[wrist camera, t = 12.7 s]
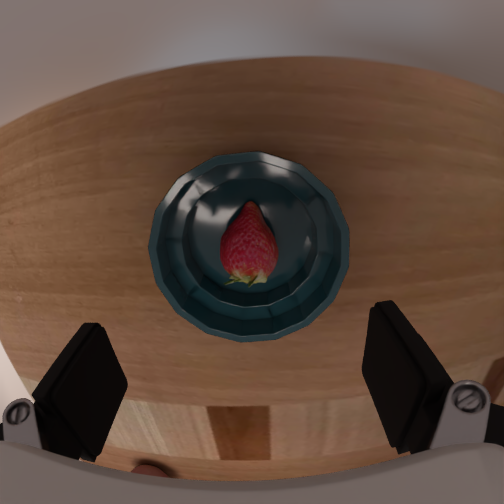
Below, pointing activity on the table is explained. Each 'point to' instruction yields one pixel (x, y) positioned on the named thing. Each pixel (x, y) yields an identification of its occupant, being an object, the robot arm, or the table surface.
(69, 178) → the table surface
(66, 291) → the table surface
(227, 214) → the bowl
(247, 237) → the fruit
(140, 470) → the apple
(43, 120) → the table surface
